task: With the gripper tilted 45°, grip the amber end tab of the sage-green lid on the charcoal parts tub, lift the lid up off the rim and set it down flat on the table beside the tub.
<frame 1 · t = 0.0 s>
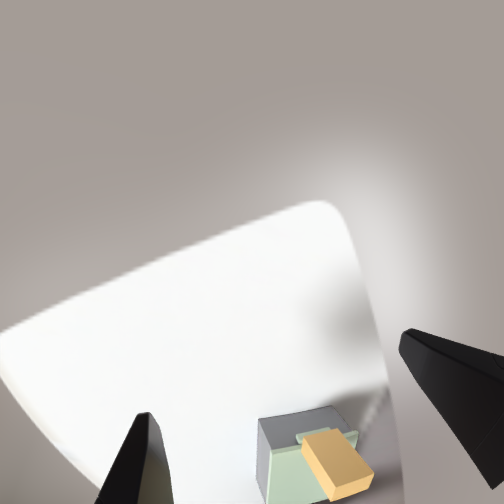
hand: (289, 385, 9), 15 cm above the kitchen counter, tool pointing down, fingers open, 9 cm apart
lid: (308, 475, 23), point 5 cm above the kitchen counter, touching tub
tub: (292, 445, 28), on the kitchen counter
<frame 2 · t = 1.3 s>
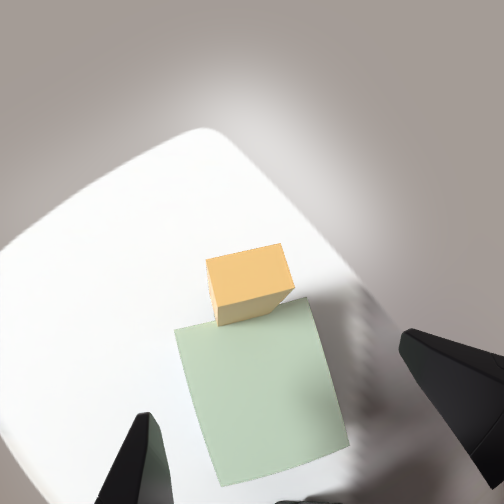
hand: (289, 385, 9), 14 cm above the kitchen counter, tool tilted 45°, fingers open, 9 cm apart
lid: (264, 395, 17), point 5 cm above the kitchen counter, touching tub
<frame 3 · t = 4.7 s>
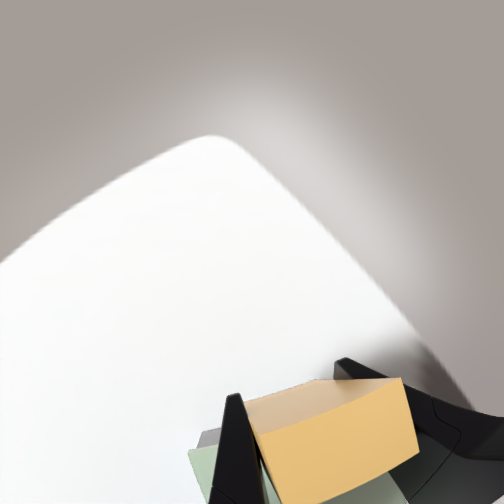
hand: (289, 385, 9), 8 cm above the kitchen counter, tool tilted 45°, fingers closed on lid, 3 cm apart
tub: (292, 483, 14), on the kitchen counter
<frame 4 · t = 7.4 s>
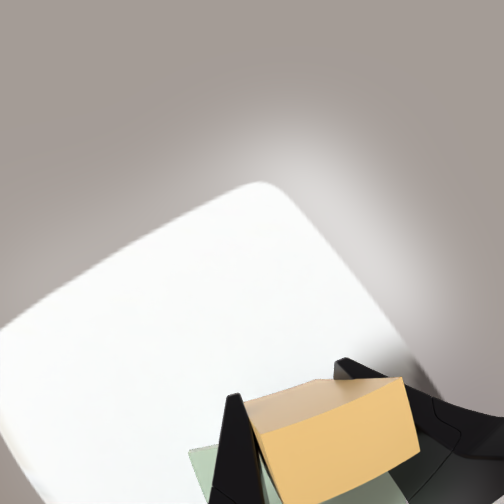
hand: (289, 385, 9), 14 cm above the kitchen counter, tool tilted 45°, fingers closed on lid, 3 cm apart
when the fingers open (7 cm above the kitchen counter, at t = 10.3 s): lid drops 3 cm, point 1 cm above the kitchen counter.
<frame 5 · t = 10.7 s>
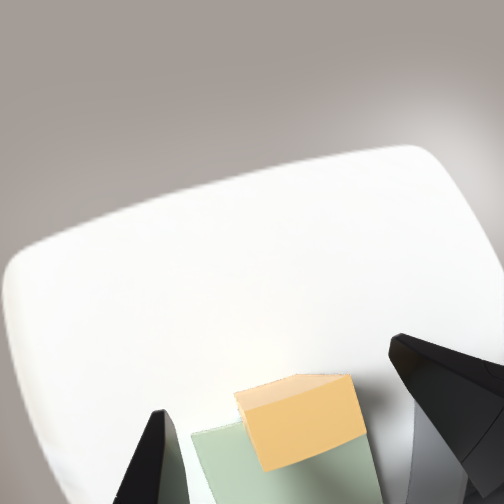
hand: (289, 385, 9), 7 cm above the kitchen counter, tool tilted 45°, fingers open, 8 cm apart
lid: (299, 493, 12), point 1 cm above the kitchen counter
tub: (454, 451, 13), on the kitchen counter
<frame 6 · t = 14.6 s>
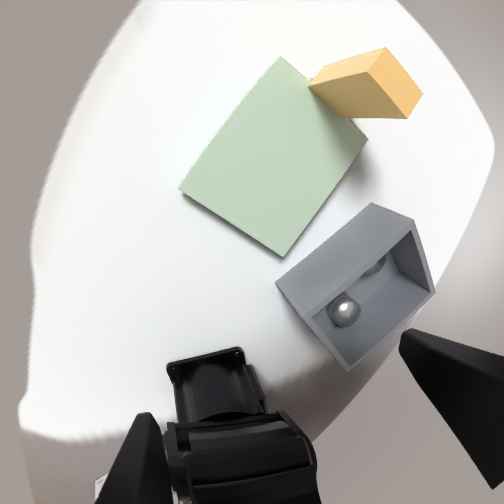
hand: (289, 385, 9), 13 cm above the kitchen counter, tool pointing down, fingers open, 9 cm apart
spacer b: (361, 252, 23), resting on tub
lid: (279, 157, 19), point 1 cm above the kitchen counter
grey metallic ball: (338, 304, 25), resting on tub
tub: (346, 275, 24), on the kitchen counter
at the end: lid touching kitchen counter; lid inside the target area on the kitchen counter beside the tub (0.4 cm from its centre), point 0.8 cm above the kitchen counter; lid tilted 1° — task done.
